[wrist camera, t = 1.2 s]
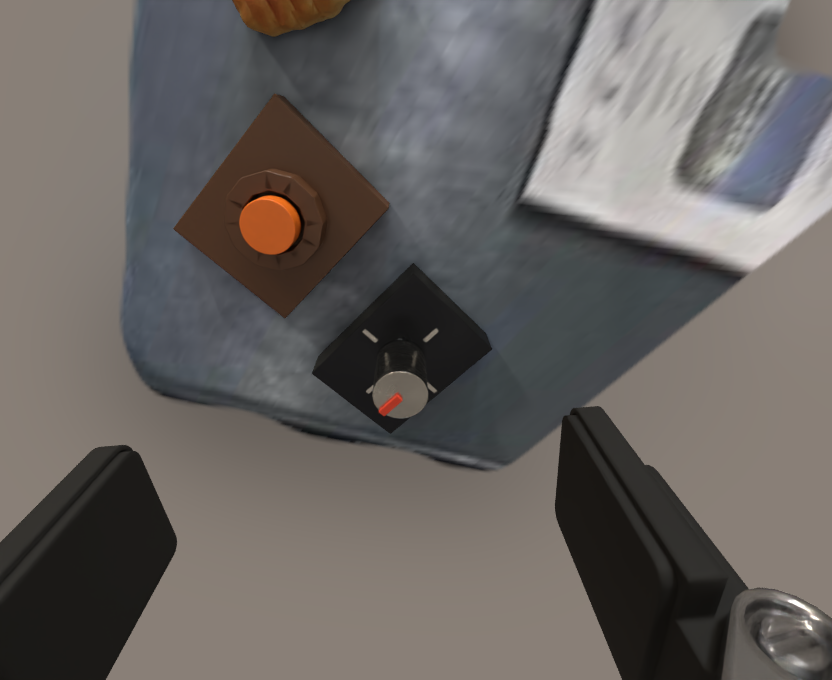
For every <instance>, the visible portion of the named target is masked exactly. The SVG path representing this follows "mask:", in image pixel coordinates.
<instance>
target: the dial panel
mask: <svg viewBox="0 0 832 680" xmlns="http://www.w3.org/2000/svg"><path fill="white" fill-rule="evenodd" d="M397 340H405V341H409V342H412V343H414V344H416V345H417V346H418V347H419V348H420V349H421V350H422V351H423V353H424V356H425V361H426V373H427V384H428V400H427V403H428V402H429V401H430V400H432V399H433V398H434V397H435V396H436V395H438V394H439V393H440V392H441V391H442V390H444V389H445V388H446V387H447V386H448V385H450V384H451V383H452V382H453V381H454V380H456V379H457V378H458V377H459V376H460V375H462V374H463V373H464V372H465V371H466V370H468V369H469V368H470V367H471V366H472V365H474V364H475V363H476V362H477V361H478V360H480V359H481V358H482V357H483V356H484V355H486V354H487V353H488V352H489V351H490V350H492V348H491V345H490V343H489V340H488V337H487V335H486V333H485V332H484V331H483V330H482V329H481V328H480V327H479V326H478V325H477V324H476V323H475V322H474V321H473V320H472V319H471V318H470V317H469V316H468V315H467V314H466V313H464V312H463V311H462V310H461V309H460V308H459V307H458V306H457V305H456V304H455V303H454V302H453V301H452V300H451V299H450V298H449V297H448V296H447V295H446V294H445V293H444V292H443V291H442V290H441V289H440V288H439V287H438V286H437V285H436V284H435V283H434V282H433V281H432V280H430V279H429V278H428V277H427V276H426V275H425V274H424V273H423V272H422V271H421V270H420V269H419V268H418V267H417V266H416V265H415V264H414V263H413V264H412V265H411V266H410V267H409V268H408V269H407V270H406V271H405V272H404V273H402V274H401V275H400V276H399V277H398V278H397V279H396V280H395V281H394V282H393V283H392V284H391V285H390V286H389V287H388V288H387V289H386V290H385V291H384V292H383V293H382V294H381V295H380V296H379V297H378V298H377V299H376V300H375V301H374V302H373V303H372V304H371V305H370V306H369V307H368V308H367V309H366V310H365V311H364V312H363V313H362V314H361V315H360V316H359V317H358V318H357V319H356V320H355V321H354V322H353V323H352V324H351V325H350V326H349V327H348V328H347V329H346V330H345V331H343V332H342V333H341V334H340V335H339V336H338V337H337V338H336V339H335V340H334V341H333V342H332V343H331V344H330V345H329V346H328V347H327V348H326V349H325V350H324V351H323V352H322V353H321V354H320V355H319V356H318V359H317V361H316V364H315V366H314V369H313V371H312V374H313V375H314V376H316V377H317V378H318V379H320V380H321V381H322V382H324V383H325V384H326V385H328V386H329V387H330V388H331V389H333V390H334V391H335V392H337V393H338V394H339V395H341V396H342V397H343V398H344V399H346V400H347V401H348V402H350V403H351V404H352V405H354V406H355V407H356V408H357V409H359V410H360V411H361V412H363V413H364V414H365V415H367V416H368V417H369V418H370V419H372V420H373V421H374V422H376V423H377V424H378V425H380V426H381V427H382V428H384V429H385V430H386V431H387V432H389V433H390V434H391V433H392V432H393V431H394V430H396V429H397V428H398V427H399V426H400V425H402V424H403V423H404V422H405V421H406V420H408V419H409V418H410V417H408V418H393V417H390V416H387V415H385V416H383V415H382V414H380V413H379V409H378V408H377V407H376V405H375V404H374V401H373V397H372V392H373V384H374V376H375V368H376V361H377V356H378V353H379V351H380V350H381V349H382V348H383V347H384V346H385V345H386V344H388V343H390V342H393V341H397ZM427 403H426V404H427Z"/></svg>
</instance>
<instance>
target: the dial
mask: <svg viewBox="0 0 832 680" xmlns="http://www.w3.org/2000/svg"><path fill="white" fill-rule="evenodd" d="M372 397H373V401H374V404H375V405H376V407H377V408H378V409H379V413H380V414H382V415H383V416H385V415H387V416H390V417H393V418H408V417H411V416H414V415H416V414H417V413H419V412H420V411H421V410H422V409H423V408H424V407H425V405H426V403H427V400H428V384H427V373H426V361H425V356H424V353H423V351H422V350H421V349H420V348H419V347H418V346H417V345H416V344H414V343H412V342H409V341H405V340H397V341H393V342H390V343H388V344H386V345H385V346H384V347H383V348H382V349H381V350H380V351H379V353H378V356H377V361H376V368H375V376H374V384H373V392H372Z"/></svg>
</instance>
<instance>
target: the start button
mask: <svg viewBox="0 0 832 680" xmlns="http://www.w3.org/2000/svg"><path fill="white" fill-rule="evenodd" d="M239 224H240V230H241V233H242V236H243V238H244V239H245V241H246V242H247V243H248V244H249V245H250V246H251V247H252V248H253V249H255V250H256V251H258V252H261V253H263V254H268V255H275V254H280V253H282V252H284V251H286V250H287V249H288V248H289V247H290V246H291V245H292V244H293V243H294V242H295V241H296V240H297V239H298V237H299V235H300V231H301V220H300V216H299V214H298V212H297V210H296V209H295V207H294V206H293V205H292V204H291V203H290V202H289V201H287V200H286V199H284V198H282V197H279V196H275V195H267V196H263V197H260V198H258V199H256V200H254V201H252V202H250V203H249V204H247V205H246V206H245V207H244V209H243V210H242V213H241V215H240V222H239Z"/></svg>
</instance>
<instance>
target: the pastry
mask: <svg viewBox="0 0 832 680" xmlns="http://www.w3.org/2000/svg"><path fill="white" fill-rule="evenodd" d="M232 1H233V3H234V5H235V7H236V9H237V10H238V12H239V13H240V16H241V18H242V20H243V22H244V23H245V24H246V25H247V27H249V28H251V29H253V30H255V31H258V32H261V33H264V34H267V35H270V36H273V37H275V36H278V35H281V34H283V33H287V32H290V31H291V30H303V29H305V28H307V27H309V26H311V25H313V24H315V23H317V22H322V21H324V20H326V19H331V18H333V17H335V16H337V15H338V14H339V13H340V12H341V10H342V8H343V6H344V5H345V4H346V3H348V2H349V1H350V0H232Z"/></svg>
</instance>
